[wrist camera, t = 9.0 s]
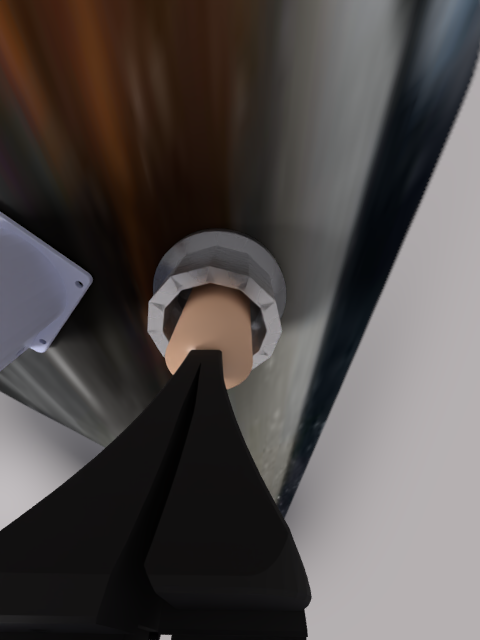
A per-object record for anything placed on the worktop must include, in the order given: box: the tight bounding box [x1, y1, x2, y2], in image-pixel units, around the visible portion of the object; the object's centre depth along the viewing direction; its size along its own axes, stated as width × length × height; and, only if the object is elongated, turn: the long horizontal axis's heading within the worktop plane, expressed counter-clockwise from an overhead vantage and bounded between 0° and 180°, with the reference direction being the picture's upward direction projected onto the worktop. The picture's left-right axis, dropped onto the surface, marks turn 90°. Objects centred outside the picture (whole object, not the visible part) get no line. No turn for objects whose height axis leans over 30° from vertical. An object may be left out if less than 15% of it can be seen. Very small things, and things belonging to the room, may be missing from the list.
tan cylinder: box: [165, 283, 253, 389], centre depth 13 cm, size 4×4×6 cm
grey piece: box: [148, 228, 286, 369], centre depth 14 cm, size 9×9×4 cm
